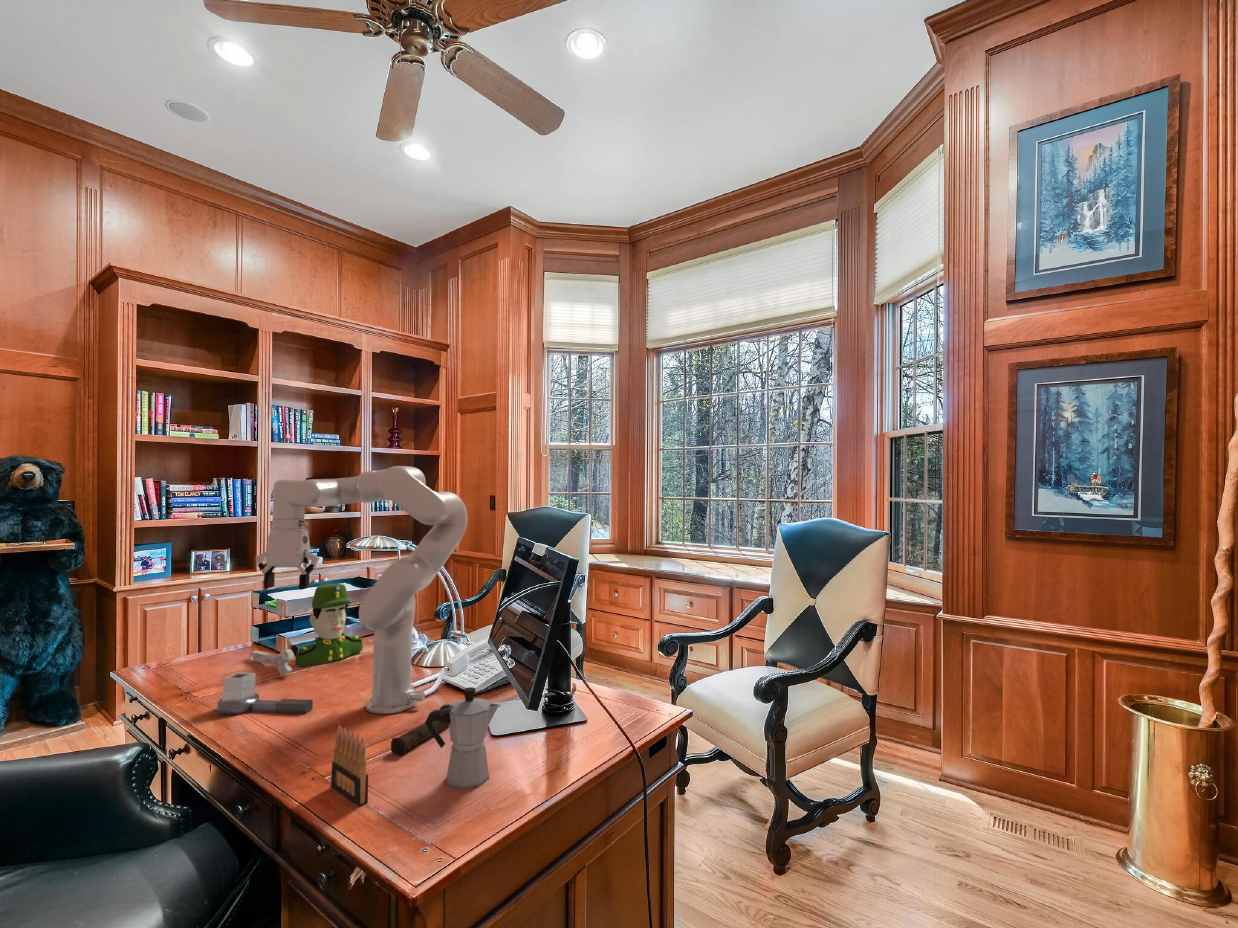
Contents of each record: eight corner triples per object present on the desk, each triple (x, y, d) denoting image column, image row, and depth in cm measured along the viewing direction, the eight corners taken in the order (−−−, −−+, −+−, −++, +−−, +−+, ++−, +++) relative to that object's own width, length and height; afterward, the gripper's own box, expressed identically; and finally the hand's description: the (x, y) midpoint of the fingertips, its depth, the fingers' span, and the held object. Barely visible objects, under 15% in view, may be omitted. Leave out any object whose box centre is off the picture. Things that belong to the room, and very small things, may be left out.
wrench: (255, 667, 188) (295, 677, 170) (249, 668, 187) (288, 678, 169) (255, 642, 189) (294, 649, 171) (249, 643, 188) (288, 650, 170)
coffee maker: (495, 762, 122) (497, 677, 123) (503, 782, 114) (505, 691, 114) (422, 774, 116) (424, 686, 117) (424, 797, 108) (427, 701, 109)
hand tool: (402, 758, 124) (403, 737, 124) (389, 754, 125) (390, 733, 125) (461, 725, 141) (462, 706, 141) (449, 722, 142) (449, 703, 142)
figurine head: (304, 671, 176) (306, 590, 177) (287, 664, 183) (289, 586, 184) (371, 655, 194) (373, 581, 195) (353, 648, 201) (355, 577, 202)
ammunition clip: (368, 802, 106) (370, 737, 107) (358, 806, 105) (360, 741, 105) (339, 783, 113) (341, 722, 113) (330, 787, 111) (332, 725, 112)
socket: (254, 695, 150) (255, 672, 150) (241, 703, 145) (241, 679, 145) (236, 694, 151) (237, 672, 151) (222, 702, 146) (223, 678, 146)
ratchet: (319, 704, 151) (319, 683, 151) (298, 718, 142) (298, 696, 142) (234, 701, 153) (234, 680, 153) (208, 715, 144) (209, 693, 144)
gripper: (327, 524, 158) (325, 586, 158) (267, 523, 159) (265, 584, 158) (311, 526, 151) (309, 591, 150) (248, 525, 151) (246, 589, 151)
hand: (286, 588), depth 154 cm, fingers open, 9 cm apart
